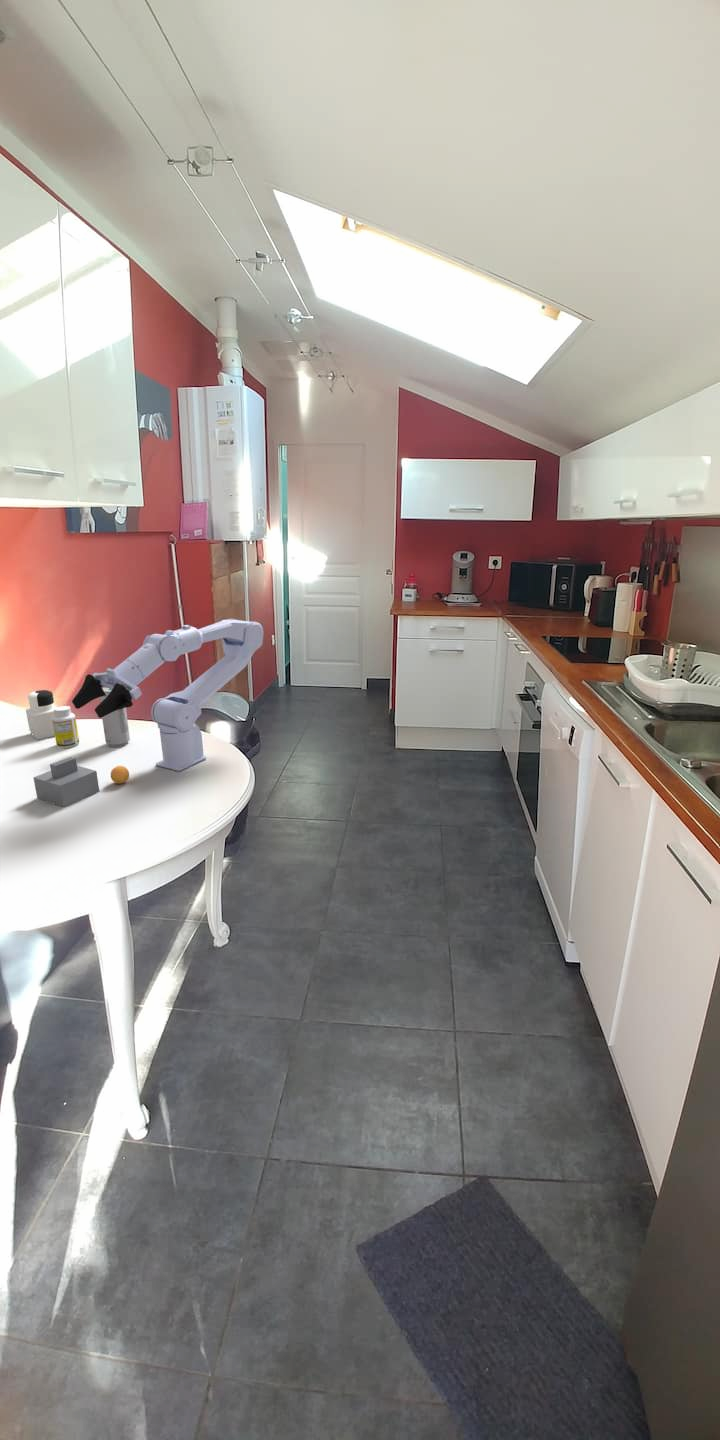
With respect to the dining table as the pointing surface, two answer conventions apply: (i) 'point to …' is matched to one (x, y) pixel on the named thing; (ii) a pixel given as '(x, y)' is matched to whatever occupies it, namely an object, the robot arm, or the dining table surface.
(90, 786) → the grey stepped block
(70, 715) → the supplement bottle
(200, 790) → the dining table surface
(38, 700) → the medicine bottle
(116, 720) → the energy drink can
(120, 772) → the ball
